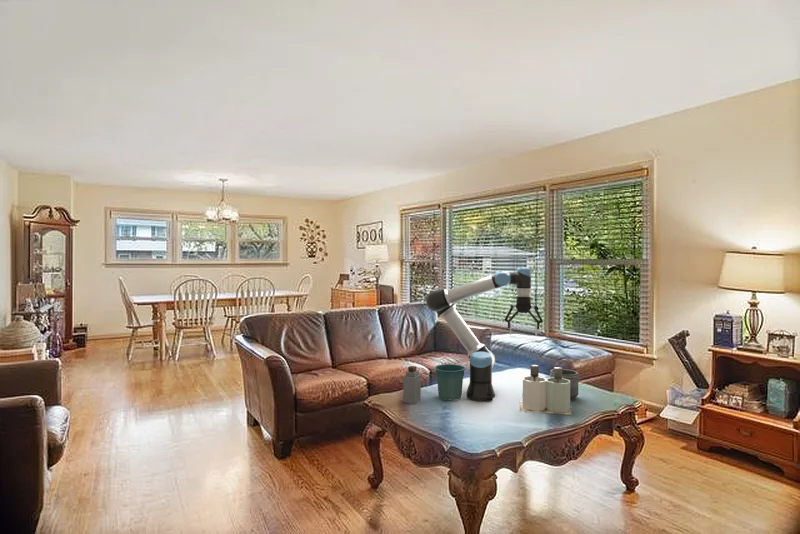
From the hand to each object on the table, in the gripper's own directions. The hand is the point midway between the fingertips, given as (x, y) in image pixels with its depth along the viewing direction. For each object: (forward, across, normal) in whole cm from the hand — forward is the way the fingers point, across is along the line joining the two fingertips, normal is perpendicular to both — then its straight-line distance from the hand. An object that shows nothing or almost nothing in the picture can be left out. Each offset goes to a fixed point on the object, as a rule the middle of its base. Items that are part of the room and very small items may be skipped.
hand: (523, 334), depth 258 cm
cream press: (+31, +5, -24) cm, 40 cm away
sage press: (+31, +16, -24) cm, 43 cm away
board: (+33, +10, -26) cm, 43 cm away
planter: (+33, +21, -5) cm, 39 cm away
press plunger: (+26, +5, -26) cm, 37 cm away
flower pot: (+33, -38, -16) cm, 53 cm away
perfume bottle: (+33, -56, -28) cm, 71 cm away
